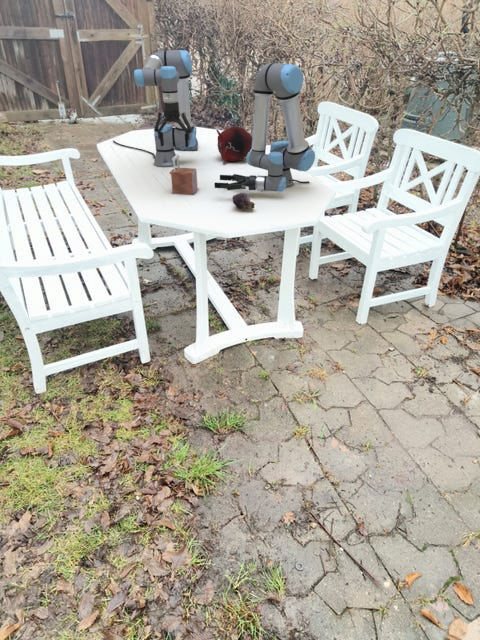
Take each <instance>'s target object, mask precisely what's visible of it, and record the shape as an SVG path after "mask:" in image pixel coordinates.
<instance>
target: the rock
mask: <svg viewBox="0 0 480 640" xmlns="http://www.w3.org/2000/svg"><path fill="white" fill-rule="evenodd" d="M232 204H233V205H234V206H235V208H236V209H237V210H239V211H245V210H253V209H255V205H256V203H254V202H253V201H251V198H250V194H249V193H248V192H238V193H236V194H234V195H233V196H232Z"/></svg>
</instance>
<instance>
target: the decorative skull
mask: <svg viewBox="0 0 480 640" xmlns="http://www.w3.org/2000/svg"><path fill="white" fill-rule="evenodd" d="M216 133H217V135H218V136H217V150H218V153H219V154H220V157H221V159H222V160H223V162H222V163H223V165H225V163H226V162H227V161H228V162H238V161H242V160H244V159H246V156H247V154H248V152H250V151H251V148H252V135H251V134H250V132H249V131H248V130H246V129H245V128H244V127H241V126H231V127H228V128H226V129H225V130H223V131H221V132H220V130H218V129H216Z"/></svg>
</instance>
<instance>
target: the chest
mask: <svg viewBox="0 0 480 640" xmlns="http://www.w3.org/2000/svg"><path fill="white" fill-rule="evenodd" d="M197 173H198V172H197V170H196V171H195V172H194V173H193V174H192V175H177V174H170V178H171V179H170V180H171V191H172V194H174V195H175V194H176V195H191V196H194V194H195V193H196V192H197V191H198V190H199V189H198V188H199V187H198V174H197Z"/></svg>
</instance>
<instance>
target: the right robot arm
mask: <svg viewBox="0 0 480 640" xmlns="http://www.w3.org/2000/svg"><path fill="white" fill-rule="evenodd" d="M303 83H304V73H303V71H302V70H301V68H300V67H299V66H298V65H296V64H292V63H278V62H269V63H266V64H264V65H263V66H262V67H261V68H260V70H259V71H258V73H257V75H256V76H255V81H254V84H253V85H254V86H253V95H254V97H255V98H254V109H253V123H252V135H251V136H252V148H251V151H250V152H248V154H247V156H246V157H245V161H246V163H247V165H248V166H251V167H253V168H257V169H258V168H259V169H261V170H266V171H267V175H252V174H251V175H249V176H246V175H241V174H237V173H233V174H219V181H231V182H230V183H229V182H214V189H224V190H227V191H236V190H246V189H247V188H248V190H249V191H260V192H275V193H276V192H277V193H278V192H279V193H280V192H285V191H286V188H289V187H291V186H293V184H294V183H293V182H295V183H299V184H310V181H308V180H307V181H301V180H297V179H293V176H292V172H291V170H295V171H298V172H308V171H309V170H310V169H311V168H312V167H313V165H314V163H315V160H316V152H315V150H313V149H312V148H310V143H309V141H308V140H306V138H305V131H304V126H303V119H302V114H301V107H300V101H299V95H300V93H301V90H302V88H303V87H304V85H303ZM274 92H275V96H276V97H275V98H276V100H277V101H279V102H280V107H281V111H282V116H283V122H284V127H285V131H286V137H287V140H278V141H274V142H271V144H270V148H269V149H270V150H269V153H266V152H267V151H266V149H267V140H268V130H269V129H268V128H269V118H270V109H271V108H270V107H271V98H272V97H273V95H274Z"/></svg>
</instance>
